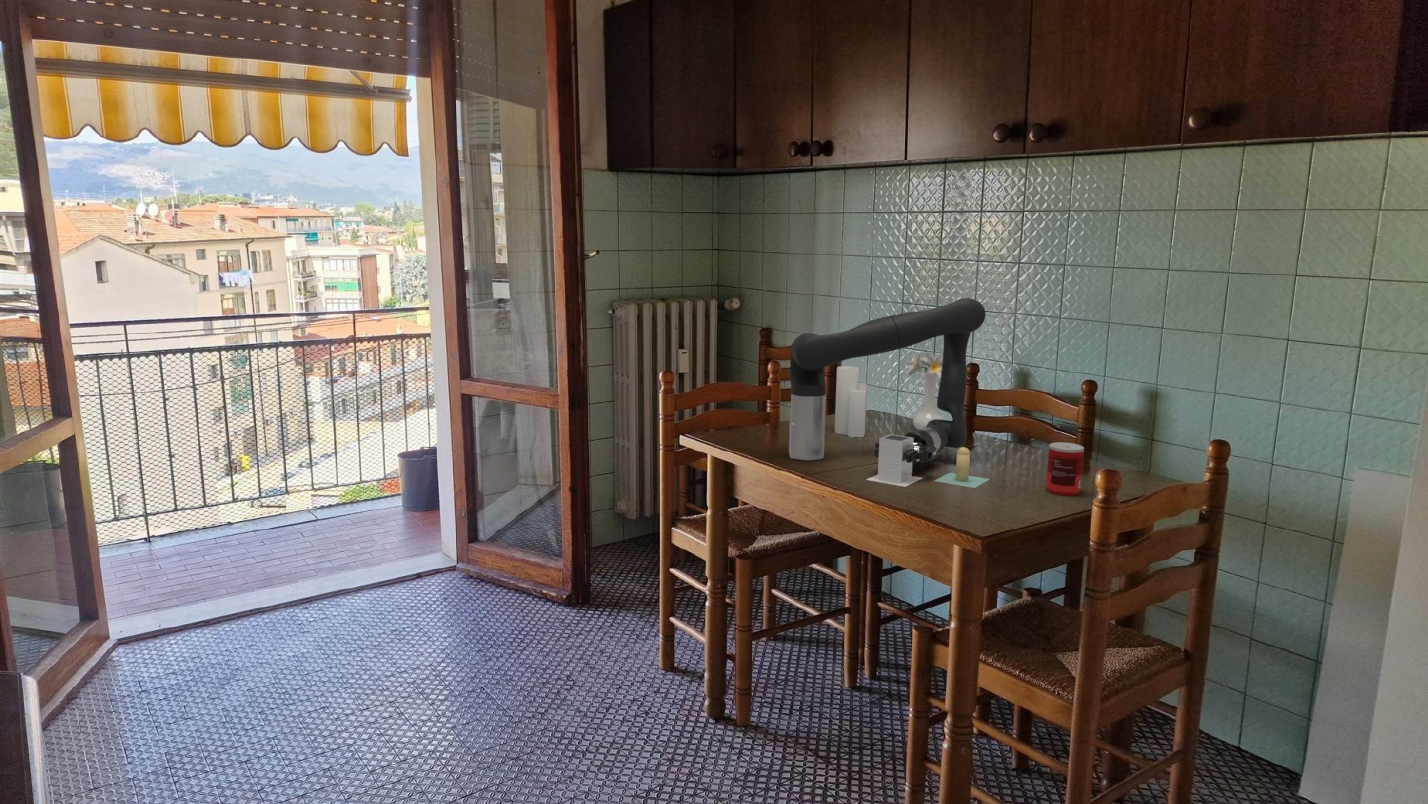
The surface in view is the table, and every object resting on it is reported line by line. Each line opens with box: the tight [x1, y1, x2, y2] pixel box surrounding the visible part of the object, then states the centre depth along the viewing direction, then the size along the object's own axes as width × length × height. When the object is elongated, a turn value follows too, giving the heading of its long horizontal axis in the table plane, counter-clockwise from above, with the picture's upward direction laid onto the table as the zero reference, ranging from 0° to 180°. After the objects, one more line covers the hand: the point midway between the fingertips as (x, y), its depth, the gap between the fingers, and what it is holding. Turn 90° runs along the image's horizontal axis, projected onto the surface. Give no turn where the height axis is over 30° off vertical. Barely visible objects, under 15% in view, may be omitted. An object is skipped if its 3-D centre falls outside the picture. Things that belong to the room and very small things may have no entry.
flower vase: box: [906, 351, 944, 430], centre depth 271 cm, size 13×18×25 cm
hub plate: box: [933, 446, 991, 489], centre depth 212 cm, size 10×10×10 cm
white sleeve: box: [877, 433, 914, 483], centre depth 212 cm, size 6×6×10 cm
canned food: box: [1045, 441, 1085, 497], centre depth 208 cm, size 8×8×11 cm
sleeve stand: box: [866, 474, 923, 488], centre depth 212 cm, size 10×10×10 cm
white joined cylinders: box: [834, 365, 868, 438], centre depth 268 cm, size 11×7×20 cm, turn 37°
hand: (892, 455), depth 210 cm, fingers open, 7 cm apart
